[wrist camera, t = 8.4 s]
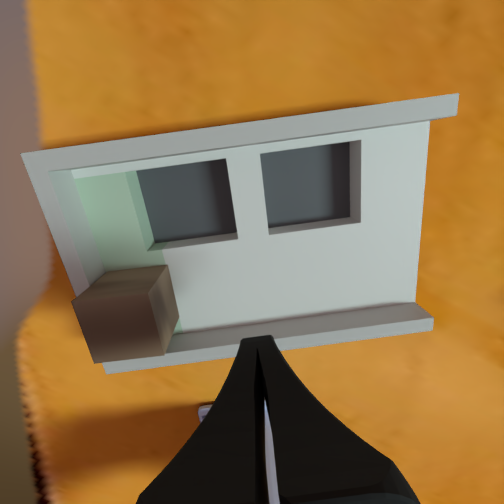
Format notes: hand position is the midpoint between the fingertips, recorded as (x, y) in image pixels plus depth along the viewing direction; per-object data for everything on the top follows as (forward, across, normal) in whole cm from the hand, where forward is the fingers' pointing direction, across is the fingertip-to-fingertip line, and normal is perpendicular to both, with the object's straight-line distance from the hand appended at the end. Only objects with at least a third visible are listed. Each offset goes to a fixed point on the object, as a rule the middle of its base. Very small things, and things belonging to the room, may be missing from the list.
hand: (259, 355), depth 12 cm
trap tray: (+9, 0, -3) cm, 10 cm away
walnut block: (+7, +7, 0) cm, 10 cm away
